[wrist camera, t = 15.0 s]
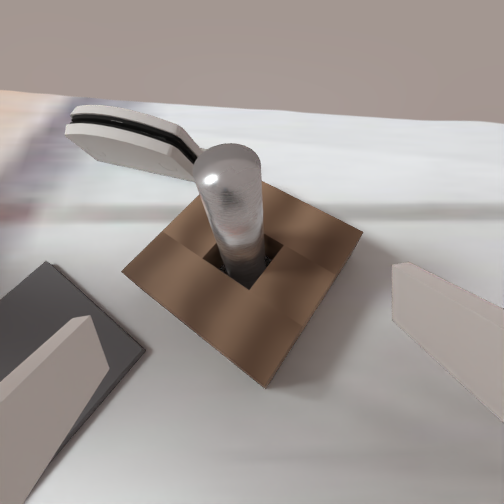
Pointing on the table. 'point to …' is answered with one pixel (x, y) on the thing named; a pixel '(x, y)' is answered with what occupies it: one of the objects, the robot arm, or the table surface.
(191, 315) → the socket block
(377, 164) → the table surface
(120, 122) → the napkin holder
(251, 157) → the pin
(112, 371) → the mat
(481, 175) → the table surface
